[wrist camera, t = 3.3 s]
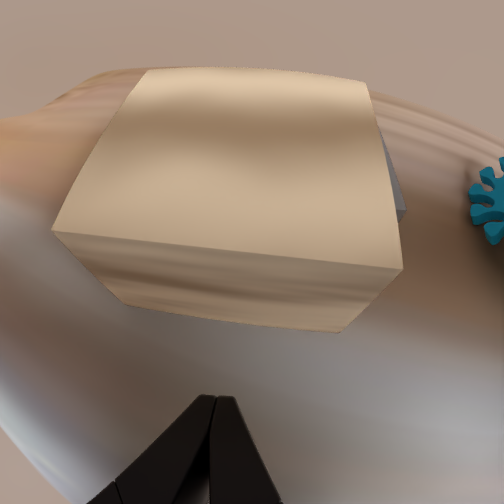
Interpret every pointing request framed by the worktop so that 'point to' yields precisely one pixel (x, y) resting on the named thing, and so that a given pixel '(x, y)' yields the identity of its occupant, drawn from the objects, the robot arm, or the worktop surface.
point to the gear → (499, 198)
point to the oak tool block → (239, 199)
